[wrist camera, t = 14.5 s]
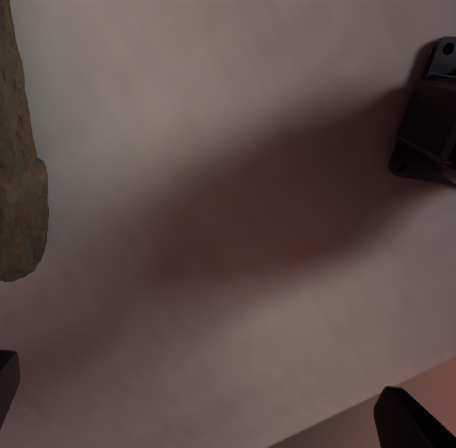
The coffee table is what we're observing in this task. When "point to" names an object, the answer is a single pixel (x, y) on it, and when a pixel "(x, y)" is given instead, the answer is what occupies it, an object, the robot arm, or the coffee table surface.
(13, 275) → the hand tool
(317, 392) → the coffee table surface
